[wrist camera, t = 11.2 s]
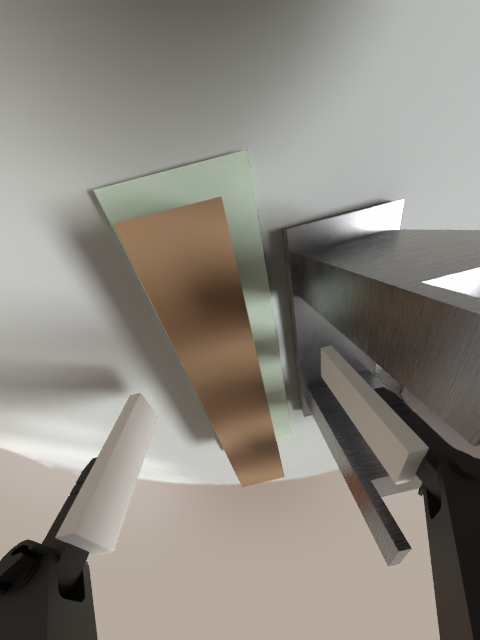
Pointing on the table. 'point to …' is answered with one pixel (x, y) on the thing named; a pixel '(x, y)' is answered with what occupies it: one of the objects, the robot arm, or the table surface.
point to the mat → (241, 213)
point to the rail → (208, 326)
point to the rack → (385, 334)
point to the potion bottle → (439, 425)
